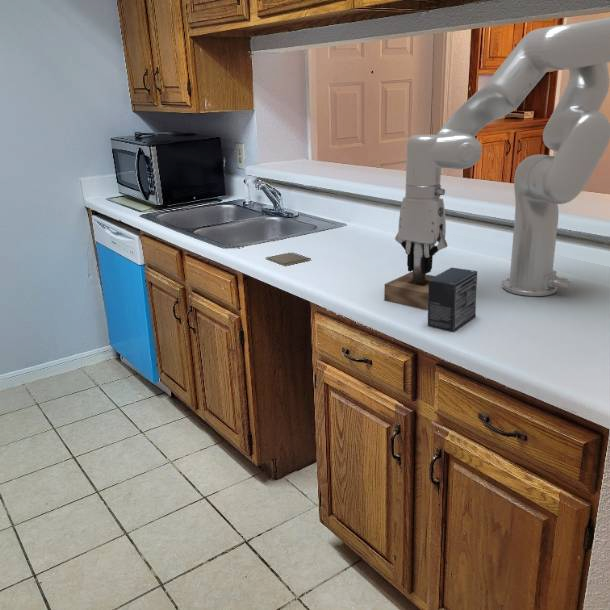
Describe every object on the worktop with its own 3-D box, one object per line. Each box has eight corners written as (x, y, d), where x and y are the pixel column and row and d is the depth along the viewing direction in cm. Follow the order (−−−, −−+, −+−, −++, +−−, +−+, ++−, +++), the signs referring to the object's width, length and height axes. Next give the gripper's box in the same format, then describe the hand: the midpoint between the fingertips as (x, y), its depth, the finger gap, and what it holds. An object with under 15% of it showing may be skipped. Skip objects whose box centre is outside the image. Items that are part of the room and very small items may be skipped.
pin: (427, 279, 141) (429, 237, 138) (421, 282, 139) (422, 240, 136) (416, 277, 143) (418, 236, 140) (409, 280, 141) (411, 238, 138)
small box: (448, 311, 134) (450, 266, 131) (476, 317, 130) (479, 270, 127) (425, 326, 127) (427, 278, 123) (454, 332, 123) (456, 283, 119)
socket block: (455, 295, 143) (455, 279, 142) (429, 310, 135) (430, 293, 134) (411, 287, 151) (411, 271, 150) (384, 300, 142) (384, 284, 141)
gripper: (464, 193, 132) (458, 273, 138) (400, 187, 142) (398, 262, 148) (447, 198, 127) (442, 281, 133) (382, 191, 137) (380, 269, 143)
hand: (419, 270), depth 141 cm, fingers closed on pin, 3 cm apart
